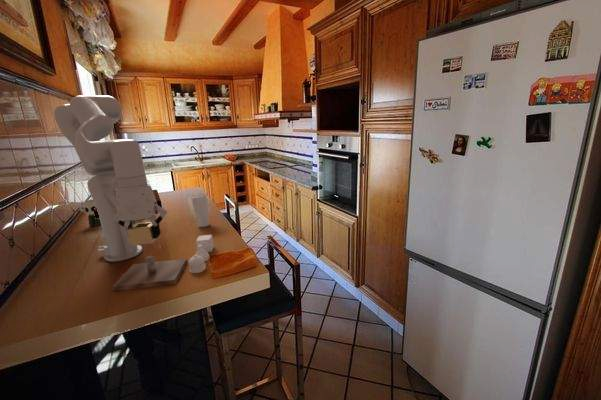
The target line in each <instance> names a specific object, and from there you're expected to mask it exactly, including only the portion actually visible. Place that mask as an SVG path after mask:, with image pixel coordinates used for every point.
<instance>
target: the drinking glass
mask: <svg viewBox="0 0 601 400" xmlns="http://www.w3.org/2000/svg"><path fill="white" fill-rule="evenodd" d="M191 202H192V208H193V212H194V216H195V219H196V223H197V227H198V228H206V227H208V226H209V225H210V221H209V219H210V218H209V205H208V197H207V194H206V193H199V194H194V195H192V196H191Z"/></svg>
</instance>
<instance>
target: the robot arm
mask: <svg viewBox="0 0 601 400" xmlns="http://www.w3.org/2000/svg"><path fill="white" fill-rule="evenodd" d="M122 111H123V109H122V106H121V104H120V103H119V101H118V99H116V98H115V97H113V96H111V95H101V94H99V95H98V94H97V95H96V94H93V95H91V94H81V95H76V96H74V97H72V98H71V99H70V101H69V103H65V104H60V105H58V106H56V107H55V108H54V111H53V116H54V120H55V123H56V125H57V127H58V129H59V130H60V132H61V133H62V135H63V136H64V137H65V138H66V139H67V140H68V141H69V143H70V144H71V145H72V146H73V147H74V150H75V152H76V154H77V156H78V158H79V160H80V163H81V165H82V167H83V168H84V170H85V172H86V173H87V174H88V175H90V176H92V177H90V178H89V179H88V181H87V189H88V192H89V194H90V196H91V198H92V199H93V201H94V203H95V205H96V208H97V212H98V215H99V219H100V222H101V224H100V226H101V230H102V233H103V236H104V241H105V244H106V245H99V246H98V247H97V254H103V253H105V255H104V261H106V262H110V263H111V262H112V263H114V262H121V261H125V260H129V259H133V257H136V256H138V255H139V254H141V253H142V252H143V246H142V245H141V244H140V245H130V241H129V237H128V233H127V230H128V229H129V228H130V227H132V226H133V221H137V222H138V221H145V220H149V222H151V223H152V224H153V226H152V230H153V235H154V238H157V239H158V238H159V237H160V236H161V234H162V233H161V231H162V230H161V227H160V223H161V222H162V220H163V219H164V217H166V215H167V214H168V211H167V210H166V209H165V208H163V207H162V206H160V205H158V203H157V197H156V196H155V193H154V191H153V188H152V185H150V183H149V184H148V179H147V174H146V171H145V166H144V162H143V156H142V152H141V146H140V144H139V142H138V141H137V140H136V139H131V138H130V139H128V138H117V139H105V138H107V137H108V136H110V135H111V134H112V132H113V131H114V128H115V126H114V124H116V123H117V122H118V121H120V119H121V118H122V115H123V112H122ZM103 139H104V140H103ZM158 214H159V216H157V215H158ZM159 235H160V236H159Z"/></svg>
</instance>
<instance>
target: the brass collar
mask: <svg viewBox="0 0 601 400" xmlns="http://www.w3.org/2000/svg"><path fill="white" fill-rule="evenodd" d="M152 226H153V224H152V223H151V222H150V221H143V222H135V223H134V224H132V227H130V228H129V229H128V230H127V233H128V237H129V241H130V245H140V246H141V245H148V244H154V243H155V241H157V239H158V238H154V235H153V230H152ZM160 236H161V234H160V235H159V237H160Z"/></svg>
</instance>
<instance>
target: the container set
mask: <svg viewBox="0 0 601 400" xmlns="http://www.w3.org/2000/svg"><path fill="white" fill-rule="evenodd" d="M213 239H214V237H213V235H212V234H206V235H205V234H204V235H198V237H197V239H196V240H195V243H196V249H197V251H196V252H195V254H194V255H193V256H192V257H190V258H189V260H188V266H189V267H188V268H189V273H190V274H199V273H202V272H204V271H205V269H206V267H207V266H206V265H205V262H207V261H208V260H209V259H210V255H209V253H211V252H213V250H214V246H215V245H214V240H213Z"/></svg>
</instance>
